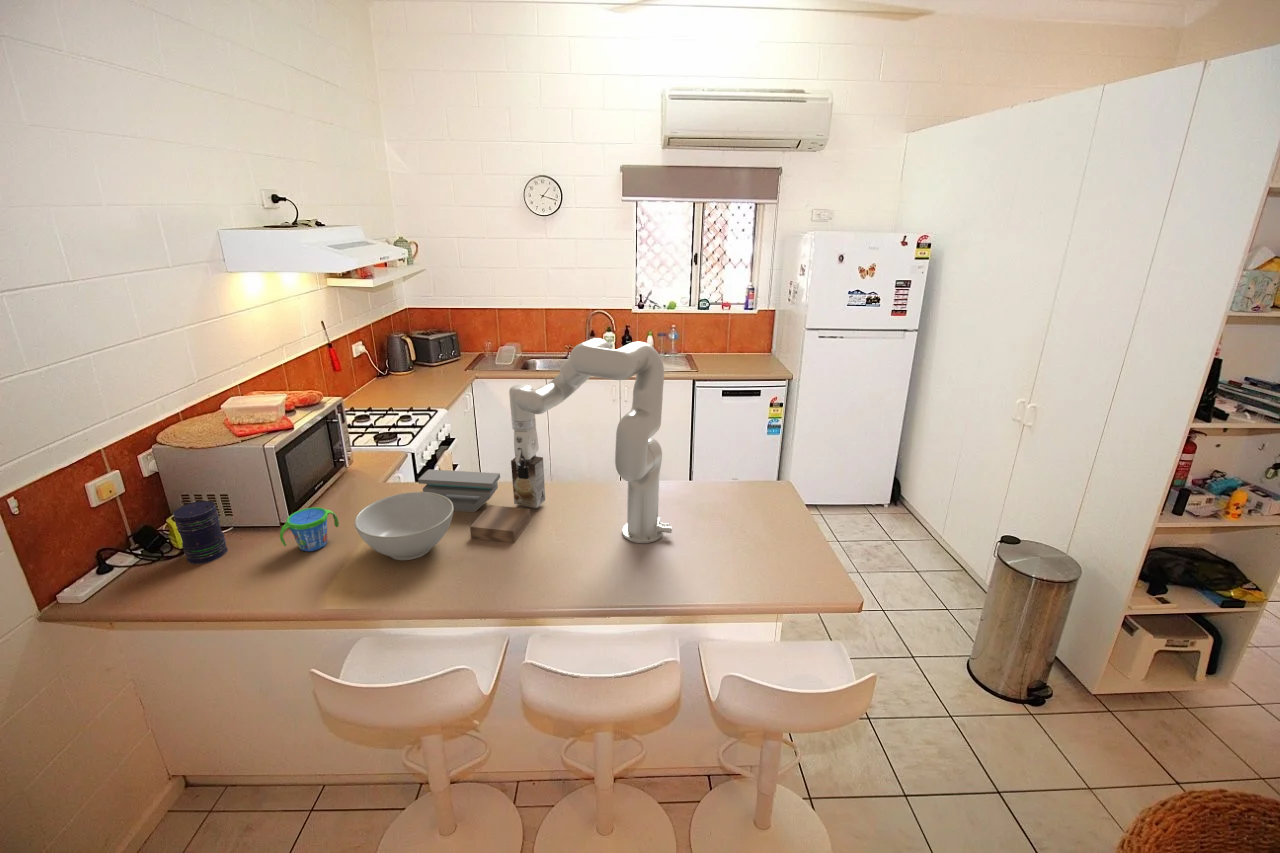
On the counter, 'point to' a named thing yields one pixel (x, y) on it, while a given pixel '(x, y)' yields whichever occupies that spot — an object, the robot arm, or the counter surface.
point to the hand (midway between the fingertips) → (527, 473)
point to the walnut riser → (500, 523)
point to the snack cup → (309, 528)
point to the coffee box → (529, 483)
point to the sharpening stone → (461, 487)
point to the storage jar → (200, 532)
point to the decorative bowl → (405, 523)
